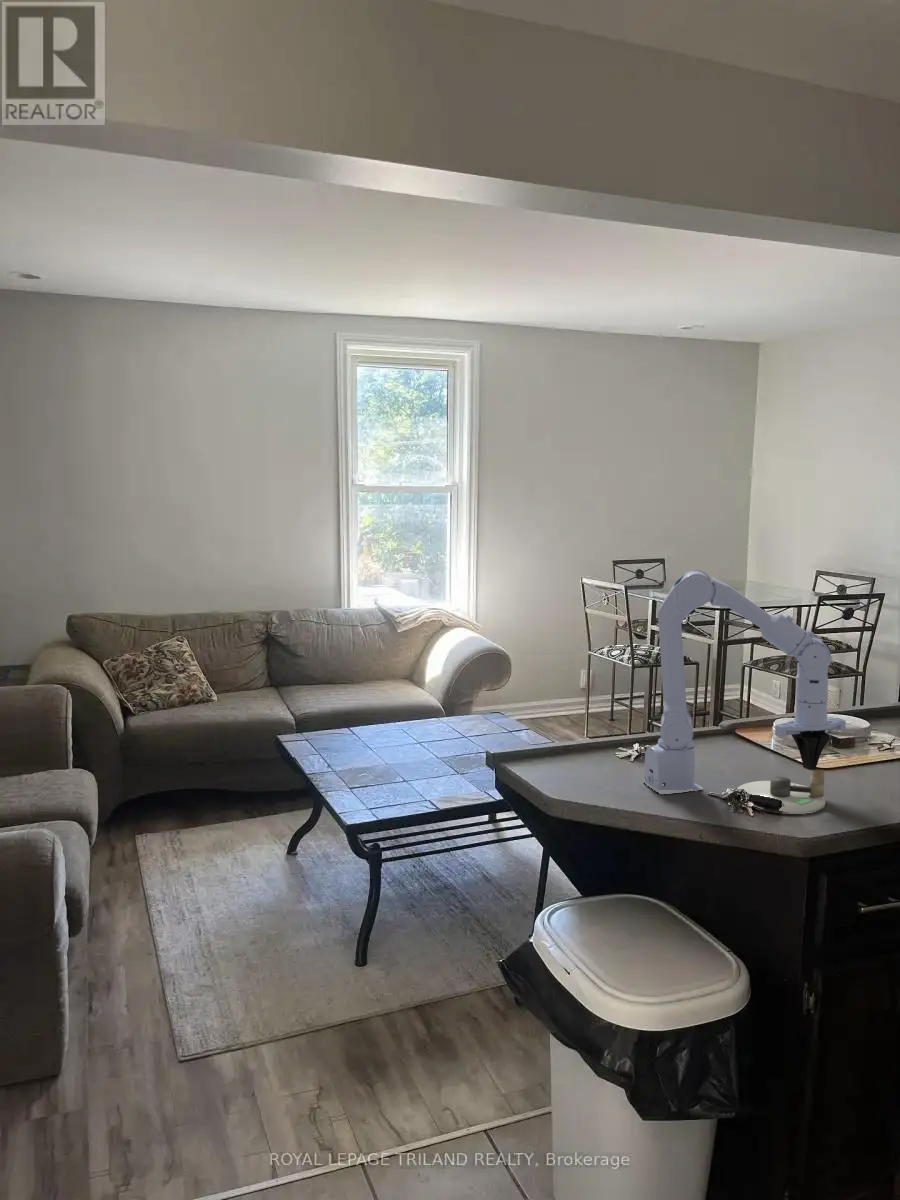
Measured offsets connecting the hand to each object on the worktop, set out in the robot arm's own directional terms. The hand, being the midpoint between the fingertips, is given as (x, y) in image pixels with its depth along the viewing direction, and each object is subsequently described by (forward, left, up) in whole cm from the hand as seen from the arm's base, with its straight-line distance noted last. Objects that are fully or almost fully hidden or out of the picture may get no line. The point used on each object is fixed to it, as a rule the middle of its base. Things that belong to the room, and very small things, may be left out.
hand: (809, 768), depth 168 cm
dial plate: (-7, -1, -5) cm, 9 cm away
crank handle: (-5, -3, -4) cm, 7 cm away
